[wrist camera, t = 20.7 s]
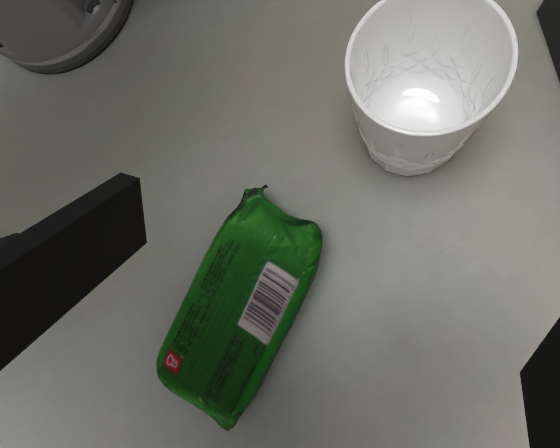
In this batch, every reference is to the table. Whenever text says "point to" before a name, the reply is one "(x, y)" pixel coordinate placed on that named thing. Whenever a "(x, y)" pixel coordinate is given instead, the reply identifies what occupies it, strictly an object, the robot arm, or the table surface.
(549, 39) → the dark grey square frame
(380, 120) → the white cup
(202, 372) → the snack package
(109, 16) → the robot arm
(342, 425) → the table surface
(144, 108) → the table surface
